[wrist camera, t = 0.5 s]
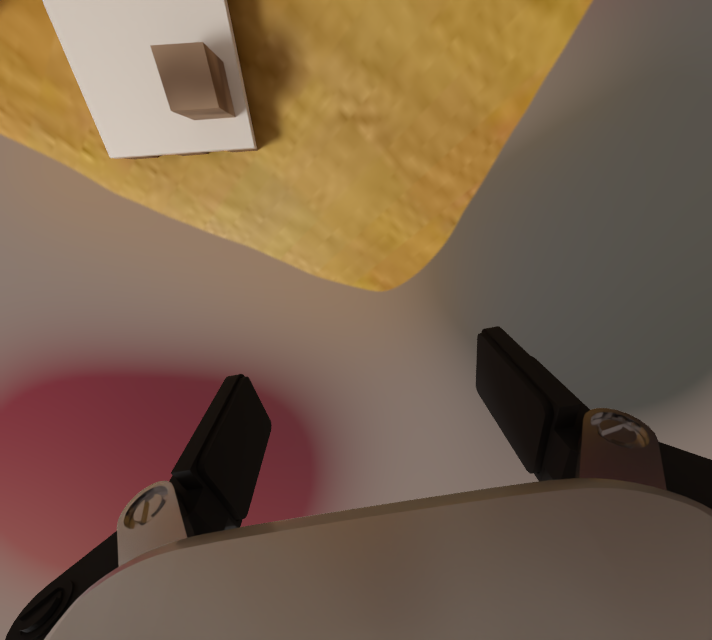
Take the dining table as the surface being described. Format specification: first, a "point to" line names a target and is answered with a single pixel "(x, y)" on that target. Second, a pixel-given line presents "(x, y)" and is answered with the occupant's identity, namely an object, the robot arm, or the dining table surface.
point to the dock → (149, 73)
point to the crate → (194, 80)
